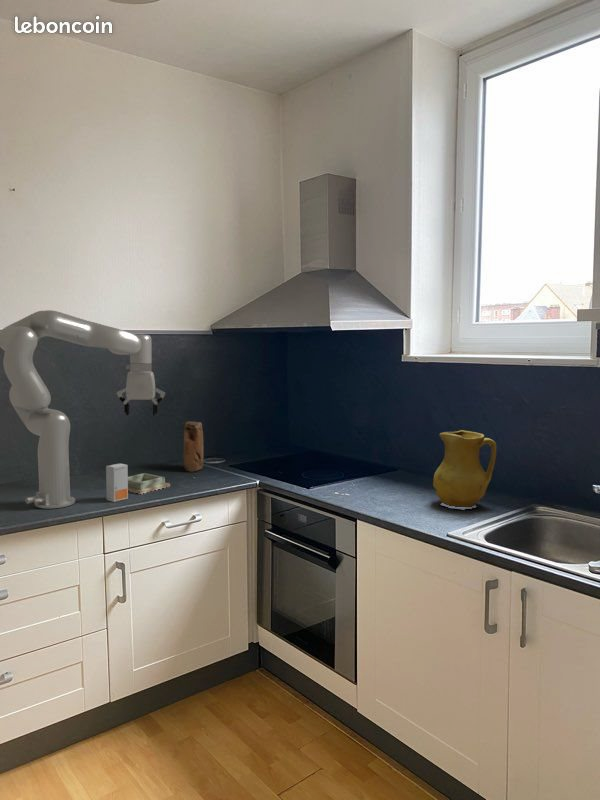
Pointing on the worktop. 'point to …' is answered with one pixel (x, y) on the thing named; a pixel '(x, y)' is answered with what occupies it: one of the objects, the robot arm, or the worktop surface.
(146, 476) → the socket stand
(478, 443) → the pitcher
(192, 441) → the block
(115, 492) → the skincare box
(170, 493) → the worktop surface
